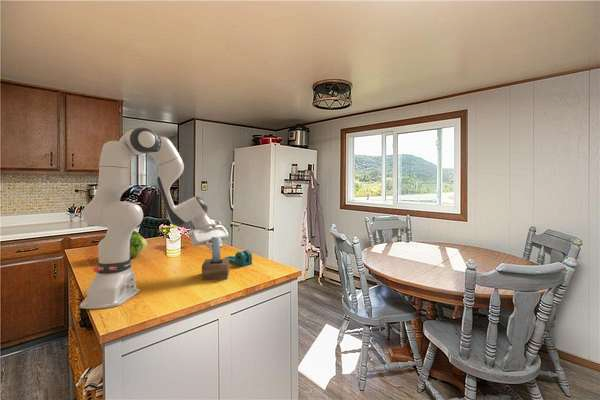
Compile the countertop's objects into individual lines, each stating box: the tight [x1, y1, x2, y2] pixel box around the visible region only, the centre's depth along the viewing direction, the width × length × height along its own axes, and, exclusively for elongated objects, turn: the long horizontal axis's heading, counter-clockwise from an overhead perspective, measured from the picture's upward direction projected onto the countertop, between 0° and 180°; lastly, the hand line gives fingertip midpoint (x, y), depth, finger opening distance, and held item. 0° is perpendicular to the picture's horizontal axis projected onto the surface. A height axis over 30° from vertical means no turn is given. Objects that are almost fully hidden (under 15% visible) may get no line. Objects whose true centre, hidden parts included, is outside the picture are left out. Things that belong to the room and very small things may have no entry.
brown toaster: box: [201, 258, 230, 281], centre depth 150 cm, size 12×12×7 cm
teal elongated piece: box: [224, 249, 253, 268], centre depth 174 cm, size 18×7×8 cm, turn 52°
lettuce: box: [130, 230, 148, 259], centre depth 181 cm, size 19×23×18 cm
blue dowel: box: [211, 237, 221, 262], centre depth 149 cm, size 4×4×12 cm
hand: (217, 248), depth 149 cm, fingers closed on blue dowel, 4 cm apart
